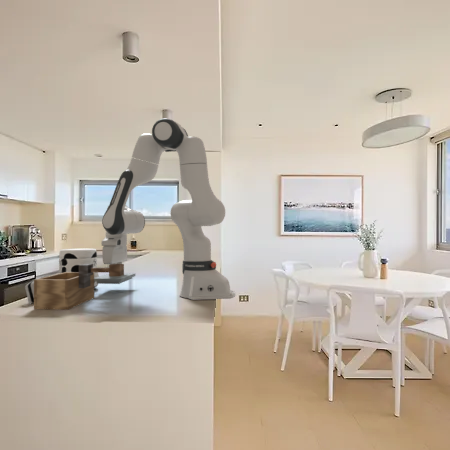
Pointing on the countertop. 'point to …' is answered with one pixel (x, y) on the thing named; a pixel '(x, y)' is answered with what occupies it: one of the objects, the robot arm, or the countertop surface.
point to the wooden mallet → (111, 269)
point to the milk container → (77, 260)
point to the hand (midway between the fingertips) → (115, 273)
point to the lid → (113, 278)
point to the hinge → (31, 291)
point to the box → (64, 289)
